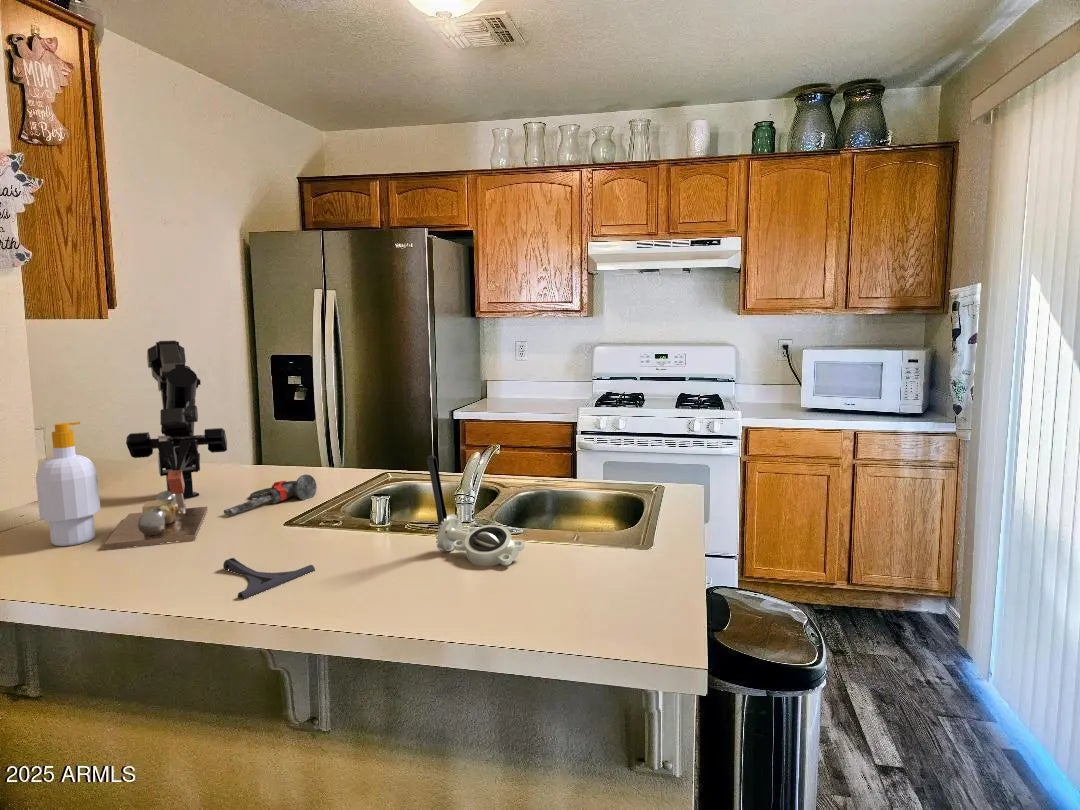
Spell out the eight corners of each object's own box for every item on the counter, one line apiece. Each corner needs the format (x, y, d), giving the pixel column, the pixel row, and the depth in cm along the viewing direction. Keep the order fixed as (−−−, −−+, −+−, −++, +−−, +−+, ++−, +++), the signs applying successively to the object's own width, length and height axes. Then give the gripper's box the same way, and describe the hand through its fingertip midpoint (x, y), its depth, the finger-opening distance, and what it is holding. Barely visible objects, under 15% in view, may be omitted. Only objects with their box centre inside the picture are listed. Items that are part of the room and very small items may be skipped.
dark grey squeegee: (261, 559, 131) (260, 545, 130) (315, 574, 123) (314, 559, 123) (189, 586, 118) (187, 570, 118) (244, 604, 111) (243, 587, 110)
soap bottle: (110, 540, 140) (98, 423, 137) (49, 553, 133) (36, 430, 130) (95, 529, 147) (84, 418, 144) (37, 541, 140) (24, 424, 137)
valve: (288, 494, 184) (329, 492, 177) (202, 526, 161) (246, 525, 154) (283, 471, 183) (324, 468, 176) (196, 499, 160) (240, 497, 153)
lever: (177, 508, 150) (168, 470, 142) (189, 507, 150) (181, 470, 143) (176, 517, 148) (167, 479, 141) (188, 515, 149) (180, 478, 141)
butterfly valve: (530, 553, 130) (456, 531, 138) (520, 462, 121) (442, 445, 129) (506, 582, 123) (430, 557, 131) (493, 488, 114) (412, 467, 123)
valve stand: (129, 518, 155) (127, 492, 154) (207, 511, 160) (205, 485, 160) (104, 550, 135) (101, 519, 134) (195, 540, 140) (192, 510, 139)
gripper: (124, 395, 143) (116, 457, 135) (222, 391, 150) (220, 450, 141) (135, 427, 152) (128, 487, 143) (227, 421, 158) (226, 479, 149)
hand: (176, 475), depth 144 cm, fingers closed, pressing on lever
